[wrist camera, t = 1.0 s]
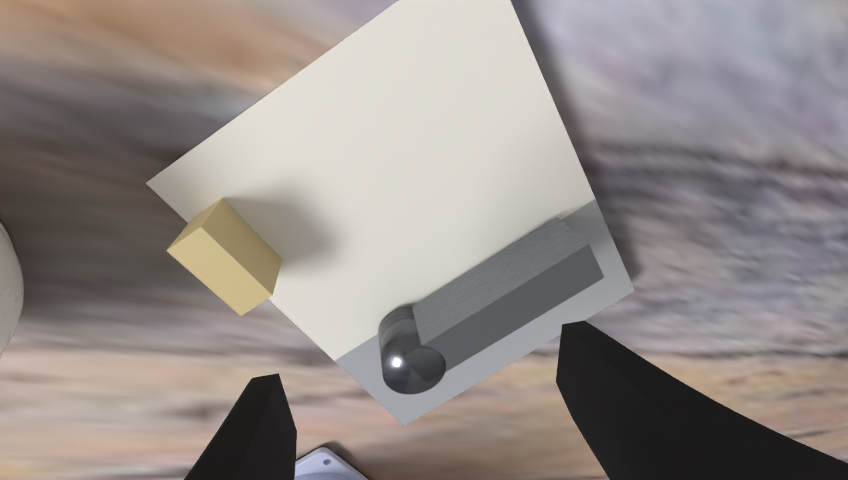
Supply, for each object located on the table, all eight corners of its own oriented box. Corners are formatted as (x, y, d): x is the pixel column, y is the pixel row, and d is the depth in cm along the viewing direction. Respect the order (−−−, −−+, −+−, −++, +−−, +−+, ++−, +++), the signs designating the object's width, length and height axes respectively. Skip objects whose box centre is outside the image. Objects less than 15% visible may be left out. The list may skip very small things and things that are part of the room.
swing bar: (398, 360, 21) (405, 403, 19) (366, 327, 20) (369, 368, 17) (575, 253, 20) (607, 283, 18) (553, 209, 19) (585, 236, 16)
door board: (621, 279, 23) (671, 322, 20) (401, 409, 25) (410, 471, 21) (474, -55, 15) (513, -82, 12) (158, 173, 17) (108, 211, 13)
